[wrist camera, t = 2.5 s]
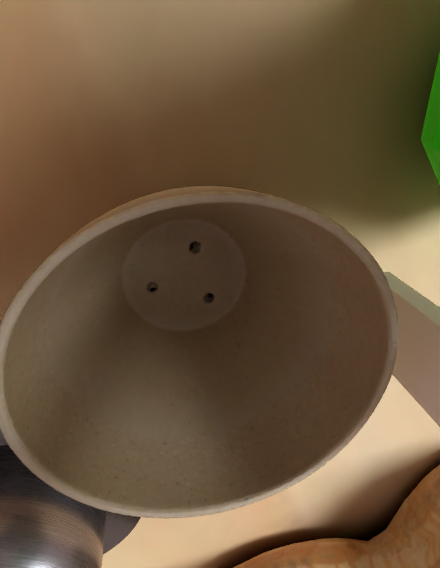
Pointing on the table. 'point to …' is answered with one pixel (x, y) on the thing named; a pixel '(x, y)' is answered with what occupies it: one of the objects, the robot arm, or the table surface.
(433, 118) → the plastic bottle
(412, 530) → the ceramic vessel
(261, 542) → the table surface
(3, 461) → the grey top hat
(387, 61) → the table surface
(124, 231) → the flower pot
